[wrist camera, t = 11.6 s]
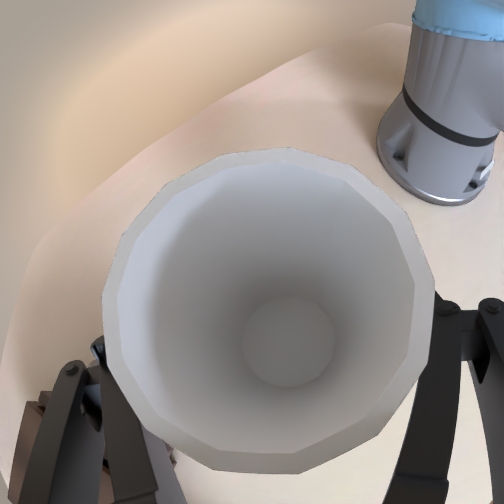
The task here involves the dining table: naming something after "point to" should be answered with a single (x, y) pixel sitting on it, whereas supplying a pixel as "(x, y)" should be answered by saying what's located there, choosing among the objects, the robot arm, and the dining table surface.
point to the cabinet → (24, 448)
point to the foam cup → (268, 311)
